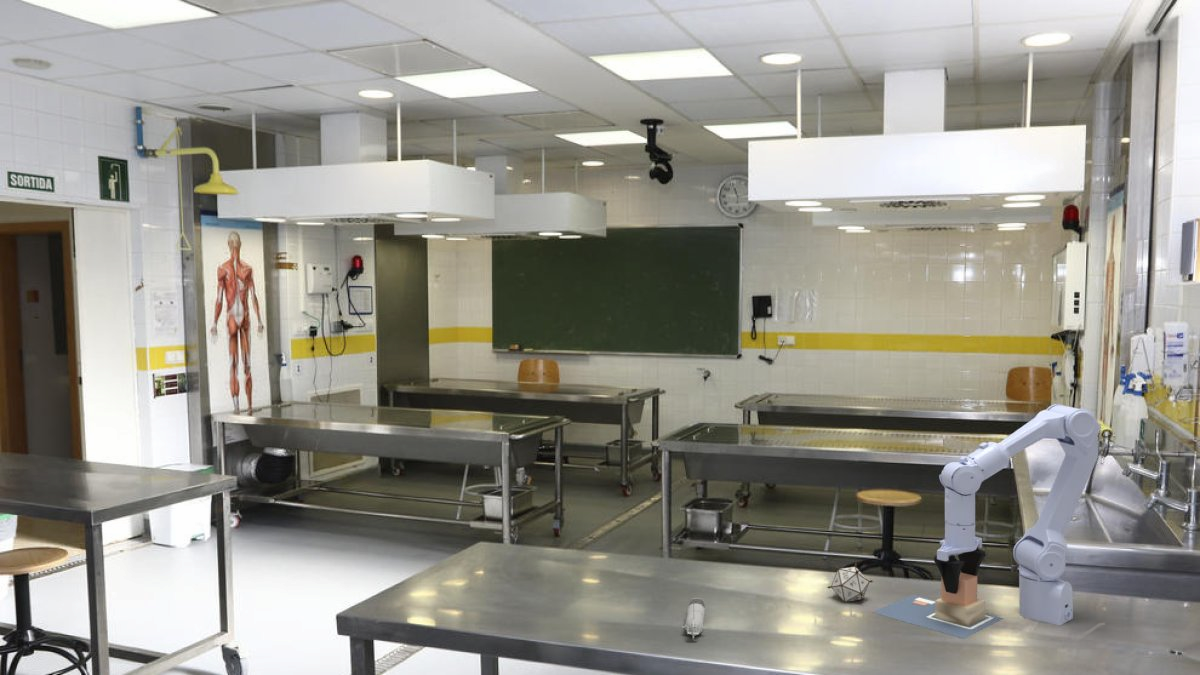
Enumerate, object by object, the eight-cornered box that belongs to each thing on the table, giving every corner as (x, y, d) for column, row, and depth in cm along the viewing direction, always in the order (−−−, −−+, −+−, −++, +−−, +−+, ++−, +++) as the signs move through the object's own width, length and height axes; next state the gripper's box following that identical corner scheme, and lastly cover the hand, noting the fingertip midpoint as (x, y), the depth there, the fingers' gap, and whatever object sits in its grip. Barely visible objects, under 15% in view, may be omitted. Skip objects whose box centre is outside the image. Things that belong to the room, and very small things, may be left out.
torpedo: (685, 611, 194) (685, 581, 194) (708, 612, 193) (707, 581, 193) (681, 643, 176) (680, 610, 176) (705, 644, 175) (705, 611, 175)
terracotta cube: (977, 600, 184) (977, 576, 184) (964, 606, 181) (964, 581, 180) (954, 594, 188) (954, 571, 188) (941, 600, 184) (941, 576, 184)
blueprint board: (1003, 621, 184) (1003, 617, 184) (963, 642, 173) (963, 637, 173) (913, 598, 199) (913, 594, 199) (872, 615, 188) (872, 611, 188)
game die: (858, 621, 196) (875, 593, 190) (820, 605, 197) (836, 577, 191) (863, 590, 203) (879, 562, 197) (826, 575, 204) (841, 547, 198)
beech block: (985, 617, 184) (985, 600, 184) (968, 626, 179) (968, 609, 179) (952, 609, 189) (952, 592, 189) (935, 617, 185) (935, 600, 184)
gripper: (959, 513, 191) (959, 576, 192) (922, 525, 182) (923, 591, 182) (991, 518, 186) (991, 584, 186) (956, 531, 176) (956, 600, 177)
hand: (960, 588), depth 184 cm, fingers open, 6 cm apart
